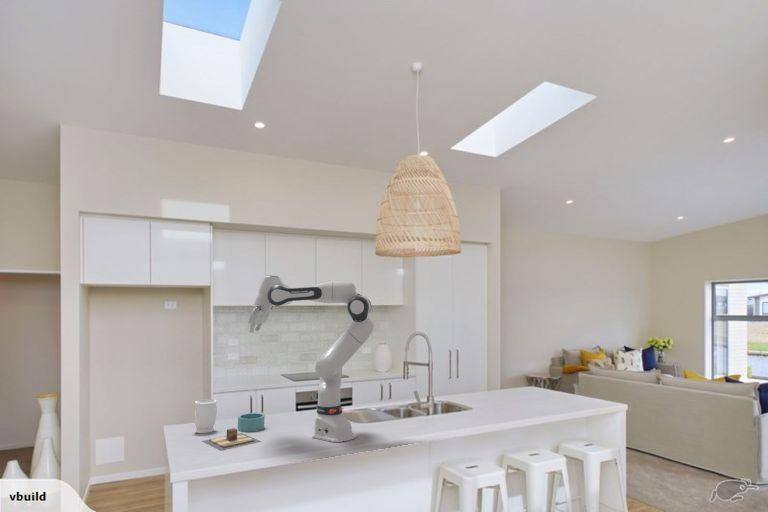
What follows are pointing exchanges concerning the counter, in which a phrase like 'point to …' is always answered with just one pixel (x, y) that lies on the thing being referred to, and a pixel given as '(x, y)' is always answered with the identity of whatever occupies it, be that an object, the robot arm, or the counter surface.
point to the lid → (231, 439)
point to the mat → (232, 446)
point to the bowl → (251, 422)
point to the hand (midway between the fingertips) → (254, 331)
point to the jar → (205, 415)
